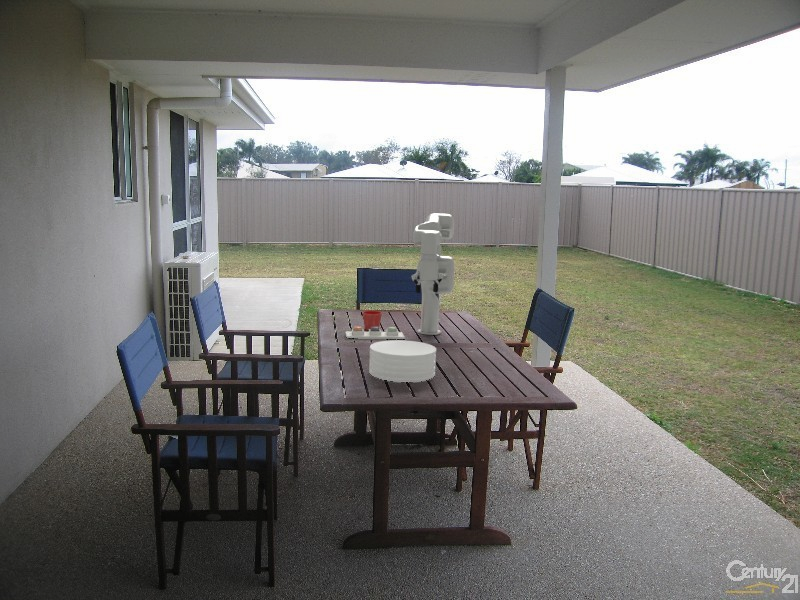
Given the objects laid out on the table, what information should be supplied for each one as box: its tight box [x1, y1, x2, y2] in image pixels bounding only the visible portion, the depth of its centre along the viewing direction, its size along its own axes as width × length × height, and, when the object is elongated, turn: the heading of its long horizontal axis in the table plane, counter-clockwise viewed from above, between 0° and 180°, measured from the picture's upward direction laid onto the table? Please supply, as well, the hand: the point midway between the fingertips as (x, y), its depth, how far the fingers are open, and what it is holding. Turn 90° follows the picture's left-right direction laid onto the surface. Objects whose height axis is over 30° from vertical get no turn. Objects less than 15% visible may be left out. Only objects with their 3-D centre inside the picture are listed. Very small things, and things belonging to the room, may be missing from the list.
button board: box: [345, 328, 406, 340], centre depth 366 cm, size 12×30×4 cm, turn 97°
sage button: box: [387, 326, 397, 332], centre depth 367 cm, size 4×4×2 cm
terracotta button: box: [353, 325, 363, 331], centre depth 365 cm, size 4×4×2 cm
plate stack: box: [368, 339, 437, 384], centre depth 296 cm, size 28×28×12 cm
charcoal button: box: [371, 326, 380, 331], centre depth 366 cm, size 4×4×2 cm
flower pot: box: [362, 310, 383, 331], centre depth 384 cm, size 11×11×10 cm
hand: (426, 292), depth 340 cm, fingers open, 9 cm apart
